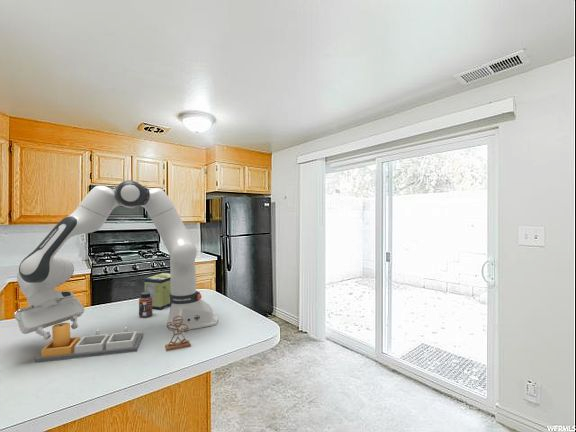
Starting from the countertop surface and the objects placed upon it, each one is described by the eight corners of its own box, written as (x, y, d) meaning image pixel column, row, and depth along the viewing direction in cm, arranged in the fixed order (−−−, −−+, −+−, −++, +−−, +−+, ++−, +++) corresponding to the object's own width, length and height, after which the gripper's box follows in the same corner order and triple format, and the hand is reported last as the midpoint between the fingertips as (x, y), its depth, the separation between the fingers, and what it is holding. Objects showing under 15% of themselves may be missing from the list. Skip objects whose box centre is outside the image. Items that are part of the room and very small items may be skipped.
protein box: (179, 301, 174) (179, 273, 174) (160, 310, 159) (160, 280, 159) (164, 299, 177) (164, 272, 177) (144, 308, 163) (143, 278, 162)
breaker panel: (143, 335, 129) (142, 324, 129) (136, 351, 116) (136, 338, 115) (52, 344, 120) (52, 332, 120) (34, 362, 107) (34, 349, 107)
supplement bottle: (147, 318, 148) (147, 295, 147) (136, 317, 149) (135, 294, 149) (155, 314, 154) (154, 291, 153) (144, 313, 155) (144, 290, 154)
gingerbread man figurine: (188, 342, 124) (188, 312, 123) (190, 346, 120) (190, 315, 120) (165, 347, 119) (164, 316, 119) (166, 351, 116) (166, 319, 115)
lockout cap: (72, 345, 117) (72, 321, 116) (67, 352, 112) (66, 327, 112) (56, 347, 115) (55, 323, 115) (50, 354, 110) (49, 328, 110)
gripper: (15, 305, 106) (32, 339, 103) (76, 290, 125) (93, 318, 121) (8, 316, 108) (25, 349, 105) (69, 299, 127) (86, 327, 123)
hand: (62, 332), depth 113 cm, fingers open, 8 cm apart
